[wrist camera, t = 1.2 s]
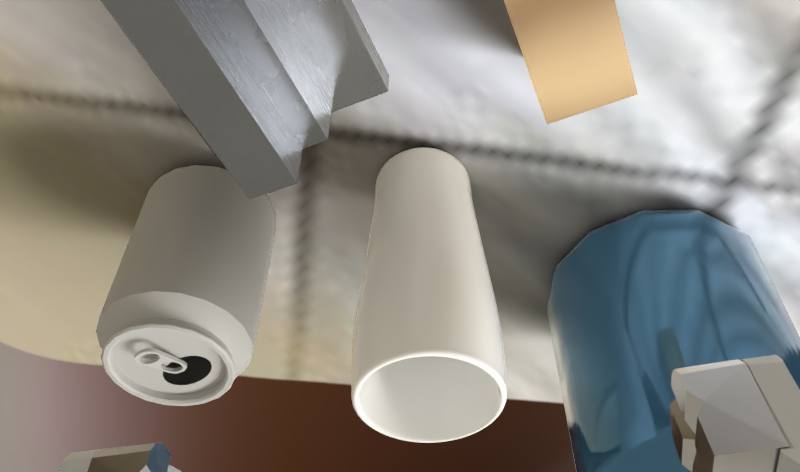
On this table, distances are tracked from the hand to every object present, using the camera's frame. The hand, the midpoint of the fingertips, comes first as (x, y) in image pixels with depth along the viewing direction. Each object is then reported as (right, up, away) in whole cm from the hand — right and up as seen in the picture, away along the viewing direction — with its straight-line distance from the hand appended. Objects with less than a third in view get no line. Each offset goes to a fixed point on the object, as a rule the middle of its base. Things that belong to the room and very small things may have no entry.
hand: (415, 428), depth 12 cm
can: (-11, +5, +33) cm, 35 cm away
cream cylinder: (+1, +6, +31) cm, 32 cm away
